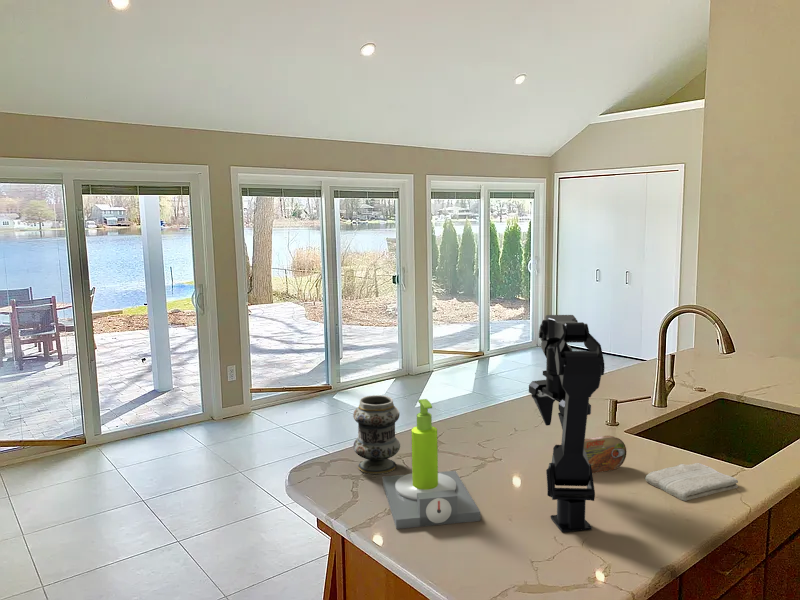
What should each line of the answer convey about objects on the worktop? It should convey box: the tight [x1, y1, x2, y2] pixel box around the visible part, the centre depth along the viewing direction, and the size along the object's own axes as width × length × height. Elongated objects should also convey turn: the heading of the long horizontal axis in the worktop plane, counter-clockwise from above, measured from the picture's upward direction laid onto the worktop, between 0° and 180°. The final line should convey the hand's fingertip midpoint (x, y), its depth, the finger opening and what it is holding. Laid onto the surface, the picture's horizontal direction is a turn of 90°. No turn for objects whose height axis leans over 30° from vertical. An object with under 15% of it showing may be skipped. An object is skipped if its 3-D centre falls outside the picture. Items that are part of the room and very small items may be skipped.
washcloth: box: [644, 462, 739, 502], centre depth 149 cm, size 12×18×3 cm, turn 113°
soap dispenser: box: [410, 398, 439, 490], centre depth 144 cm, size 6×7×20 cm
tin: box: [584, 435, 627, 474], centre depth 158 cm, size 15×3×8 cm, turn 105°
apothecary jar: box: [352, 394, 401, 475], centre depth 162 cm, size 12×12×18 cm
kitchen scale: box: [382, 470, 481, 530], centre depth 142 cm, size 22×18×6 cm
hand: (557, 432), depth 149 cm, fingers open, 9 cm apart
